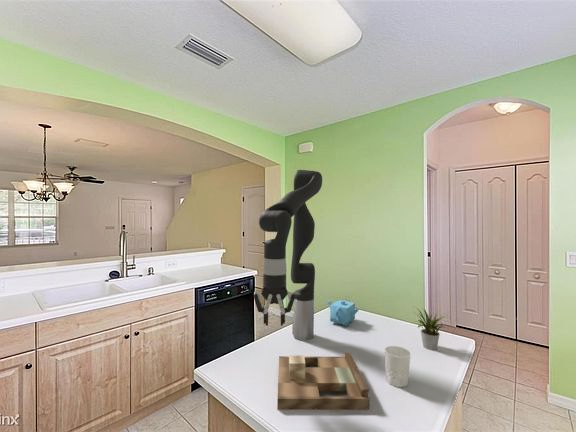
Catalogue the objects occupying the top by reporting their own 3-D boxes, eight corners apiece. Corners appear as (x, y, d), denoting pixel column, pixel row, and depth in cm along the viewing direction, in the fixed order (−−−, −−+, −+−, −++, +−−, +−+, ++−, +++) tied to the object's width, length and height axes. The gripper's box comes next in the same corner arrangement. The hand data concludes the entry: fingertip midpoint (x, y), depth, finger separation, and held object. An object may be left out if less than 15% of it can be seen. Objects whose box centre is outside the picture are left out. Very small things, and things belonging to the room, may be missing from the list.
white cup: (408, 377, 96) (409, 348, 96) (411, 390, 88) (411, 359, 88) (384, 373, 98) (384, 344, 98) (384, 385, 91) (384, 354, 91)
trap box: (277, 409, 79) (277, 391, 79) (279, 364, 103) (279, 350, 103) (369, 409, 79) (369, 391, 79) (349, 364, 103) (349, 351, 103)
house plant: (401, 344, 121) (401, 306, 121) (418, 336, 129) (419, 300, 129) (435, 357, 109) (435, 315, 109) (451, 348, 117) (452, 309, 117)
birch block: (289, 379, 89) (289, 363, 89) (289, 370, 94) (289, 355, 94) (305, 379, 89) (305, 363, 89) (304, 370, 94) (304, 355, 94)
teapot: (353, 331, 134) (353, 307, 134) (319, 323, 144) (319, 301, 144) (363, 321, 147) (363, 299, 147) (332, 314, 157) (332, 294, 157)
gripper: (296, 269, 95) (295, 320, 95) (254, 269, 95) (253, 320, 95) (297, 274, 88) (296, 329, 87) (251, 274, 87) (250, 329, 87)
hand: (274, 324), depth 91 cm, fingers open, 4 cm apart
